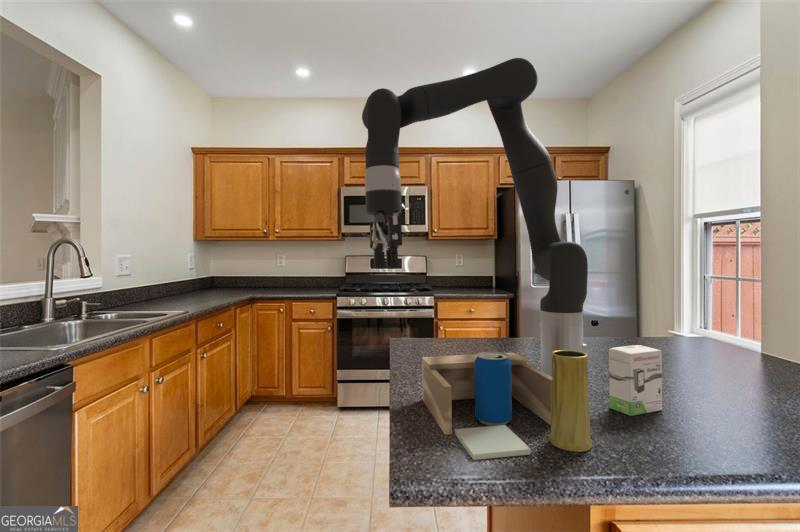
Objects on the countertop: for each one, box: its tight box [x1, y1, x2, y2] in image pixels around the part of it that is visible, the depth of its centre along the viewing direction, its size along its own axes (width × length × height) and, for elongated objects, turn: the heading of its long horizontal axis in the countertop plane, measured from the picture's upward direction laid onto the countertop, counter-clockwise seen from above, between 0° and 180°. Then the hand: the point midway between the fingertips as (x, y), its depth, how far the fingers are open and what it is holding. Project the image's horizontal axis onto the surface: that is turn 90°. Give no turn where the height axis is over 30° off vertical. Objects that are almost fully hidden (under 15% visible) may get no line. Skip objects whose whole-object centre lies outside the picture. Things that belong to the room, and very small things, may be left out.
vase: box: [549, 350, 593, 453], centre depth 63 cm, size 6×6×14 cm
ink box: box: [608, 344, 663, 417], centre depth 77 cm, size 9×5×12 cm, turn 110°
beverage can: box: [474, 351, 513, 426], centre depth 72 cm, size 6×6×12 cm
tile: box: [454, 424, 532, 461], centre depth 63 cm, size 9×9×1 cm
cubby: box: [421, 352, 552, 436], centre depth 77 cm, size 20×17×9 cm
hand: (385, 268), depth 83 cm, fingers open, 8 cm apart
